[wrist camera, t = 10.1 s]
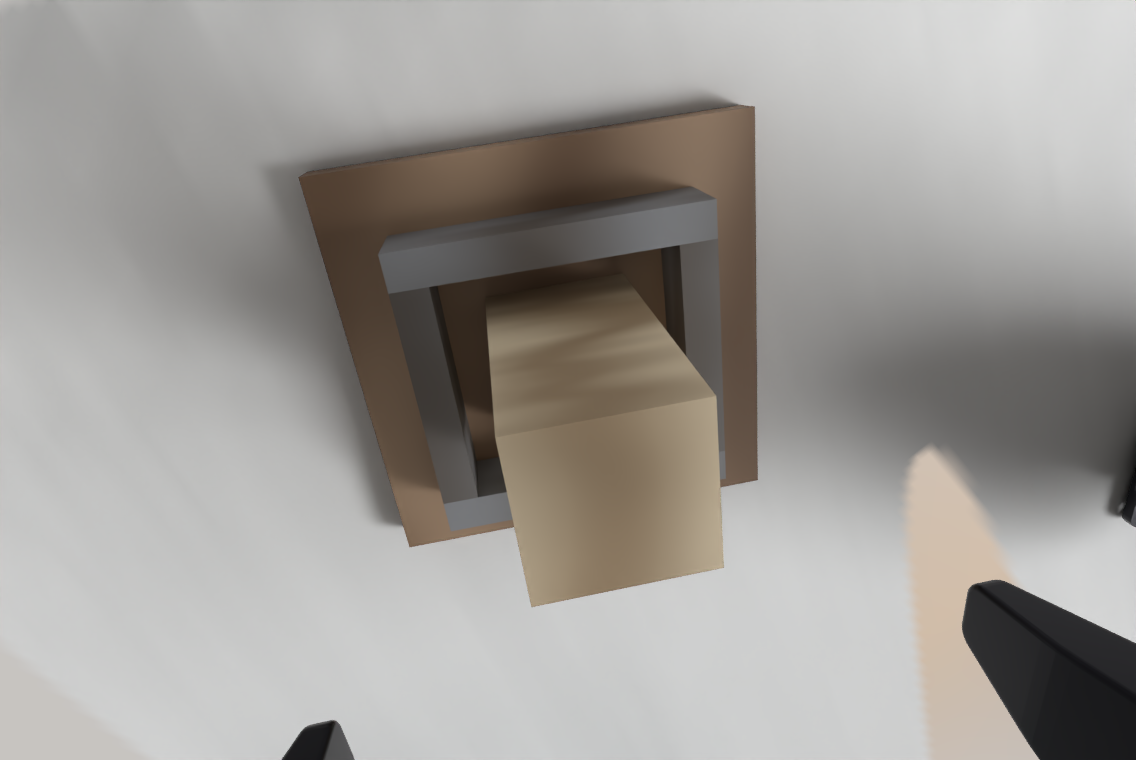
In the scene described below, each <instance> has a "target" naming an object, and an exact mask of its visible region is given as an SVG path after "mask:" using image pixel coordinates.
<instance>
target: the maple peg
mask: <svg viewBox="0 0 1136 760" xmlns="http://www.w3.org/2000/svg"><path fill="white" fill-rule="evenodd" d="M485 305H486V319H487V333H488V346H489V360H490V374H491V387H492V401H493V415H494V429H495V439H496V444H497V449H498V453H499V458H500V462H501V467H502V472H503V476H504V481H505V486H506V490H507V495H508V500H509V504H510V509H511V514H512V518H513V523H514V528H515V532H516V537H517V542H518V546H519V551H520V556H521V560H522V565H523V570H524V574H525V579H526V583H527V588H528V593H529V597H530V602H531V607H535V606H539V605H544V604H549V603H554V602H559V601H564V600H569V599H574V598H578V597H583V596H588V595H593V594H598V593H603V592H608V591H613V590H617V589H622V588H627V587H632V586H637V585H642V584H647V583H652V582H656V581H661V580H666V579H671V578H676V577H681V576H686V575H691V574H695V573H700V572H705V571H710V570H715V569H720V568H724V561H723V538H722V515H721V491H720V468H719V445H718V422H717V399H716V395H715V394H714V392H713V391H712V390H711V388H710V387H709V386H708V384H707V383H706V382H705V380H704V379H703V378H702V377H701V375H700V374H699V373H698V371H697V370H696V369H695V367H694V366H693V365H692V363H691V362H690V361H689V360H688V358H687V357H686V356H685V354H684V353H683V352H682V350H681V349H680V348H679V346H678V345H677V344H676V343H675V341H674V340H673V339H672V337H671V336H670V335H669V333H668V332H667V331H666V329H665V328H664V327H663V325H662V324H661V323H660V322H659V320H658V319H657V318H656V316H655V315H654V314H653V312H652V311H651V310H650V308H649V307H648V306H647V305H646V303H645V302H644V301H643V299H642V298H641V297H640V295H639V294H638V293H637V291H636V290H635V289H634V288H633V286H632V285H631V284H630V282H629V281H628V280H627V278H626V277H625V276H624V274H617V275H611V276H605V277H600V278H594V279H588V280H582V281H577V282H571V283H565V284H559V285H554V286H548V287H542V288H536V289H531V290H525V291H519V292H514V293H508V294H502V295H496V296H491V297H485Z"/></svg>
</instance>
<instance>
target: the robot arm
mask: <svg viewBox="0 0 1136 760" xmlns="http://www.w3.org/2000/svg"><path fill="white" fill-rule="evenodd" d="M1122 518H1123V519H1124V520H1125V521H1126V522H1128V523H1129V524H1131V525H1132V526H1134V527H1136V469H1135V472H1134V476H1133V479H1132V483H1131V486H1130V490H1129V493H1128V497H1127V500H1126V504H1125V507H1124V510H1123V515H1122ZM962 630H963V635H964V638H965V640H966V642H967V644H968V646H969V648H970V649H971V651H972V653H973V654H974V656H975V658H976V659H977V661H978V662H979V664H980V666H981V667H982V669H983V670H984V672H985V674H986V676H987V677H988V679H989V681H990V682H991V684H992V685H993V687H994V688H995V690H996V692H997V694H998V695H999V697H1000V699H1001V700H1002V702H1003V703H1004V705H1005V707H1006V708H1007V710H1008V712H1009V713H1010V715H1011V716H1012V718H1013V720H1014V722H1015V723H1016V725H1017V726H1018V728H1019V730H1020V731H1021V733H1022V734H1023V736H1024V737H1025V739H1026V740H1027V742H1028V744H1029V745H1030V747H1031V748H1032V749H1033V751H1034V752H1035V754H1036V755H1037V757H1038V758H1039V759H1040V760H1136V643H1134V642H1132V641H1130V640H1128V639H1125V638H1123V637H1121V636H1119V635H1117V634H1115V633H1113V632H1111V631H1109V630H1107V629H1104V628H1102V627H1100V626H1098V625H1096V624H1094V623H1092V622H1090V621H1088V620H1085V619H1083V618H1081V617H1079V616H1077V615H1075V614H1073V613H1071V612H1069V611H1067V610H1064V609H1062V608H1060V607H1058V606H1056V605H1054V604H1052V603H1050V602H1048V601H1045V600H1043V599H1041V598H1039V597H1037V596H1035V595H1033V594H1031V593H1029V592H1026V591H1024V590H1022V589H1020V588H1018V587H1016V586H1014V585H1012V584H1010V583H1007V582H1005V581H1001V580H991V581H987V582H982V583H977V584H974V585H972V586H971V587H970V588H969V590H968V593H967V599H966V604H965V610H964V616H963V621H962ZM282 760H354V757H353V754H352V752H351V749H350V747H349V745H348V742H347V740H346V738H345V735H344V733H343V730H342V728H341V726H340V724H339V723H338V722H337V721H335V720H330V721H326V722H321V723H316V724H312V725H309V726H307V727H305V728H304V729H303V730H302V731H301V732H300V734H299V735H298V737H297V738H296V740H295V741H294V742H293V744H292V745H291V747H290V748H289V750H288V751H287V753H286V754H285V755H284V757H283V758H282Z"/></svg>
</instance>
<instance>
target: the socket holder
mask: <svg viewBox="0 0 1136 760" xmlns="http://www.w3.org/2000/svg"><path fill="white" fill-rule="evenodd" d="M299 181H300V184H301V187H302V191H303V194H304V197H305V201H306V204H307V207H308V210H309V214H310V217H311V220H312V224H313V227H314V230H315V234H316V237H317V240H318V244H319V247H320V250H321V254H322V257H323V260H324V264H325V267H326V270H327V274H328V277H329V280H330V284H331V287H332V290H333V294H334V297H335V300H336V304H337V307H338V310H339V314H340V317H341V320H342V324H343V327H344V330H345V334H346V337H347V340H348V344H349V347H350V350H351V354H352V357H353V360H354V364H355V367H356V370H357V374H358V377H359V380H360V384H361V387H362V390H363V394H364V397H365V400H366V404H367V407H368V410H369V414H370V417H371V420H372V424H373V427H374V430H375V434H376V437H377V440H378V444H379V447H380V450H381V454H382V457H383V460H384V464H385V467H386V470H387V474H388V477H389V480H390V484H391V487H392V490H393V494H394V497H395V500H396V503H397V507H398V510H399V513H400V517H401V520H402V523H403V527H404V530H405V533H406V537H407V540H408V543H409V547H413V546H419V545H424V544H429V543H434V542H439V541H444V540H450V539H455V538H460V537H465V536H470V535H475V534H481V533H486V532H491V531H496V530H501V529H507V528H512V527H514V523H513V518H512V514H511V509H510V504H509V500H508V495H507V490H506V486H505V481H504V476H503V472H502V467H501V462H500V458H499V453H498V449H497V444H496V439H495V429H494V415H493V401H492V387H491V374H490V360H489V346H488V333H487V319H486V305H485V297H491V296H496V295H502V294H508V293H514V292H519V291H525V290H531V289H536V288H542V287H548V286H554V285H559V284H565V283H571V282H577V281H582V280H588V279H594V278H600V277H605V276H611V275H617V274H624V276H625V277H626V278H627V280H628V281H629V282H630V284H631V285H632V286H633V288H634V289H635V290H636V291H637V293H638V294H639V295H640V297H641V298H642V299H643V301H644V302H645V303H646V305H647V306H648V307H649V308H650V310H651V311H652V312H653V314H654V315H655V316H656V318H657V319H658V320H659V322H660V323H661V324H662V325H663V327H664V328H665V329H666V331H667V332H668V333H669V335H670V336H671V337H672V339H673V340H674V341H675V343H676V344H677V345H678V346H679V348H680V349H681V350H682V352H683V353H684V354H685V356H686V357H687V358H688V360H689V361H690V362H691V363H692V365H693V366H694V367H695V369H696V370H697V371H698V373H699V374H700V375H701V377H702V378H703V379H704V380H705V382H706V383H707V384H708V386H709V387H710V388H711V390H712V391H713V392H714V394H715V395H716V399H717V422H718V445H719V468H720V487H724V486H729V485H734V484H740V483H745V482H750V481H755V480H758V465H757V339H756V212H755V107H753V106H744V105H738V106H731V107H725V108H718V109H712V110H705V111H699V112H693V113H686V114H680V115H673V116H667V117H660V118H654V119H647V120H641V121H634V122H628V123H621V124H615V125H608V126H602V127H595V128H589V129H582V130H576V131H569V132H563V133H556V134H550V135H544V136H537V137H531V138H524V139H518V140H511V141H505V142H498V143H492V144H485V145H479V146H472V147H466V148H459V149H453V150H446V151H440V152H433V153H427V154H420V155H414V156H407V157H401V158H395V159H388V160H382V161H375V162H369V163H362V164H356V165H349V166H343V167H336V168H330V169H323V170H317V171H310V172H306V173H305V174H303V175H302V176H300V177H299Z"/></svg>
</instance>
